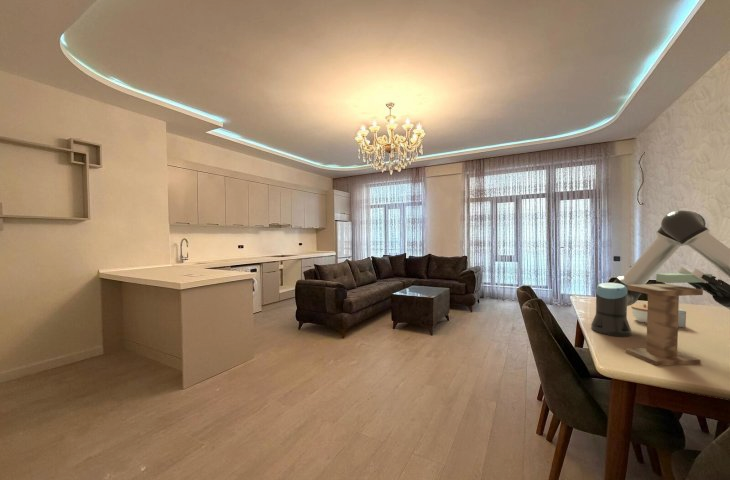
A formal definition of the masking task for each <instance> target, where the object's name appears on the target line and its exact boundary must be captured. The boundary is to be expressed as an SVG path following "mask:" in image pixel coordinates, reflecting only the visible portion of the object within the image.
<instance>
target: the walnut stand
mask: <svg viewBox="0 0 730 480" xmlns="http://www.w3.org/2000/svg"><path fill="white" fill-rule="evenodd" d="M627 290H631V291H636V292H641V293H642V294H646V295H647V306H648V311H647V323H646V347H635V348H634V347H632V348H625V353H627V354H629V355H631V356H634V357H636V358H637V359H640V360H643V361H645V362H647V363H650V364H653V366H654V365H655V366H656V367H658V366H674V365H675V366H677V365H678V366H679V365H697V364H699V363H701V361H702V360H701V359H700V358H698V357H695V356H692V355H689V354H687V353H684V352H680V351H678V340H679V339H678V337H679V334H678V333H679V327H678V309H680V308H679V306H680V304H679V303H680V296H703V295H704V290H702V289H696V288H695V287H690V286H683V285H682V286H681V285H676V284H672V283H646V284H639V285H627Z"/></svg>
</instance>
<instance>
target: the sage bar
mask: <svg viewBox="0 0 730 480" xmlns="http://www.w3.org/2000/svg"><path fill="white" fill-rule="evenodd" d="M692 273H693V272H691V273H678V272H676V273H674V272H673V273H669V272H668V273H667V272H666V273H655V274H656V276H655V279H656V280H655V281H656V282H659V283H660V282H661V283H663V284H677V283H678V284H679V283H680V284H681V283H687V284H689V283H692V282H702V281H701V280H699V279H698V278H696V277H694V276H693V275H692ZM705 274H706V275H708V276H709V277H711V276H713V274H711V273H705Z"/></svg>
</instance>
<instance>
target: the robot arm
mask: <svg viewBox="0 0 730 480" xmlns="http://www.w3.org/2000/svg"><path fill="white" fill-rule="evenodd" d="M660 223H661V225H660V226H661V227H659V228H658V230H657V231H656V234H657V237H655V239H654V240H653V242H652V243H651V244H650V245H649V246H648V247H647V248H646V249H645V251H644V252H643V253H642V254H641V255H640V257H639V258H638V259H637V260H636V261H635V262H634V264H633V265H632V266H631V267H630V268H629V269H628V270H627V272H625V274H624V275H621V276H617V277H616V278H615V279H614V281H613V282H601V283H598V284H597V285H596V289H595V295H596V296H595V315H594V317H593V319H592V322H591V325H590V326H591V327H590V329H591V330H593V331H594V332H597V333H600V334H603V335H608V336H612V337H613V336H614V337H620V338H621V337H623V338H624V337H626V338H627V337H630V336H632V330H631V326H630V323H629V321H628V318H627V315H628V314H627V311H628V307H629V306H632V305H635V303H637V301H638V300H639V297H640V296H641V295H642V294H643V293H641V292H636V291H631V290H627V285H639V284H648V281H649V280H651V278H652V277H653V276H655V274H657V272H658V271H659V270H660V269H661V268H662V266H663V265H665V263H666V262H667V261H668V260H670V258H671V257H672V256H673V255H675V253H676V251H677V250H678V249H680V247H684V246H688V247H690V249H692V250H693V251H694V252H696V253H697V254H699V255H700V256H701V257H702V258H704V259H705V260H706V261H708V262H709V263H710V264H711V265H712V266H714V267H715V268H717V269H718V270H719V271H720V272H722V273H723V274H724V275H725V276H727V277H728V278H730V247H728V246H727V245H726V244H724V243H723V242H722V241H720V240H719V239H717V238H716V237H715V236H714V235H712V234H711V233H710V229H709V228H708V227H706V220H705V218H704V217H703V216H702V215H701V214H700V213H697V212H694V211H692V210H675V211H672V212H668V213H667V214H666V215H665V216H664V217H663V218H662V220H661V222H660ZM677 273H692V275H693V276H694V277H696V278H698V279H699V280H701V281H702V282H692V283H688V284H689V285H690V286H692V288H696V289H702V290H703V291H705V292H706V293H708V294H709V295H711V296H712V298H713V300H714V301H715V302H716V303H718V304H719V305H721V306H723V307H724V308H726V309H728V310H729V311H730V284H729V283H727V282H726V281H724V280H723V279H717V276H713V275H712V276H711V277H709V276H708V275H706V274H707V273H704V271H701V270H700V269H698V268H694V269H693V271H692V272H691V271H689V270H688V269H687V268H685V267H684V266H680V268H679V269H678V271H677Z"/></svg>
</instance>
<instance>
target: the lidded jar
mask: <svg viewBox="0 0 730 480" xmlns="http://www.w3.org/2000/svg"><path fill="white" fill-rule="evenodd" d="M630 306H631V314H632V316H633V318H634V319H636V321H637V322H639V323H640V322H641V323H644V322H645V324H647V311H648V305H647V304H646V303H644V304H632V305H630Z"/></svg>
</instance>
